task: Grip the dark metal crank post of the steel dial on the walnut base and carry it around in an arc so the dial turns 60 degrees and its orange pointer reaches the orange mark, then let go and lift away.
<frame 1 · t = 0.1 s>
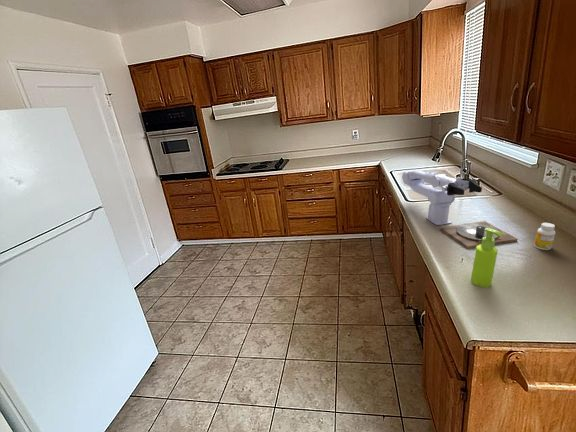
hand: (472, 191, 123), 22 cm above the counter, tool horizontal, fingers open, 7 cm apart
supplement bottle: (542, 247, 119), on the counter
dial base: (476, 235, 133), on the counter
soap dispenser: (482, 283, 102), on the counter
dial: (477, 226, 131), point 4 cm above the counter, hinge at 0.0°
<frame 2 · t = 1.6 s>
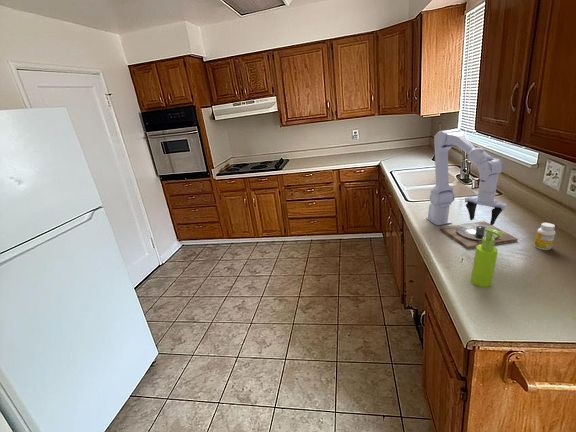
hand: (481, 221, 124), 9 cm above the counter, tool pointing down, fingers open, 7 cm apart
nothing on the counter moved.
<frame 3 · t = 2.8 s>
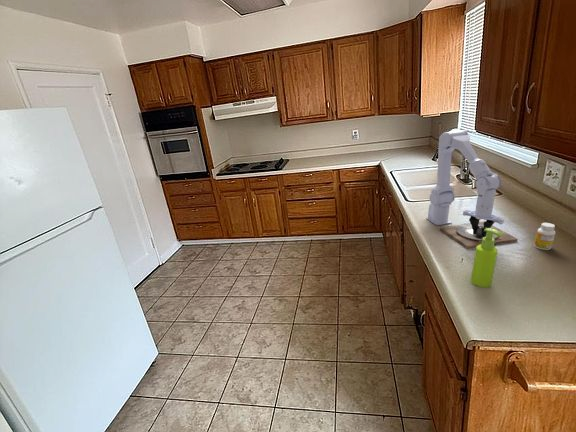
hand: (479, 234, 126), 3 cm above the counter, tool pointing down, fingers closed on dial, 3 cm apart
dial: (477, 226, 131), point 4 cm above the counter, hinge at 0.0°, touching gripper
everything else where it was.
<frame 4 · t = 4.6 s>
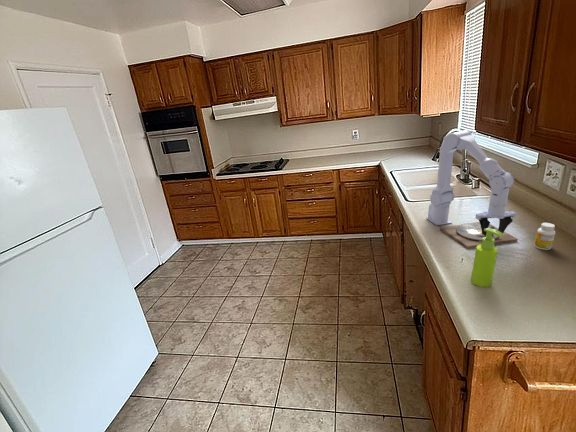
hand: (492, 233, 126), 3 cm above the counter, tool pointing down, fingers open, 6 cm apart
dial: (477, 226, 131), point 4 cm above the counter, hinge at 32.4°, touching gripper
everything else where it was.
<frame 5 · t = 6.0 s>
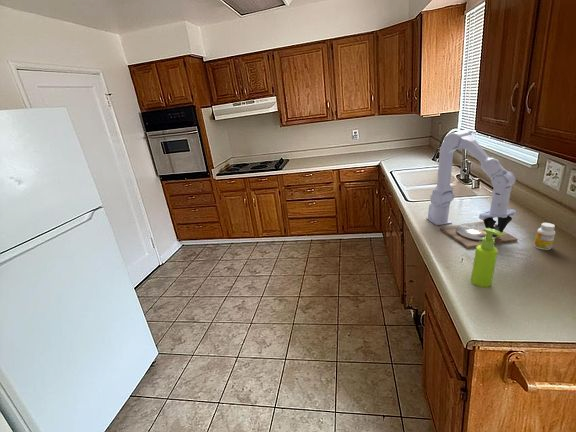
hand: (494, 232, 126), 3 cm above the counter, tool pointing down, fingers open, 4 cm apart
dial: (477, 226, 131), point 4 cm above the counter, hinge at 56.1°
everything else where it was.
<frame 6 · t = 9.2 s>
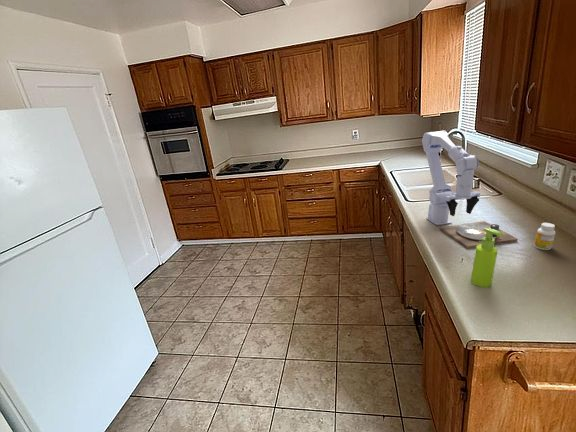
hand: (460, 214, 132), 9 cm above the counter, tool pointing down, fingers open, 7 cm apart
nothing on the counter moved.
at the end: dial at +56° (first picture: +0°); the gripper is holding nothing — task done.
